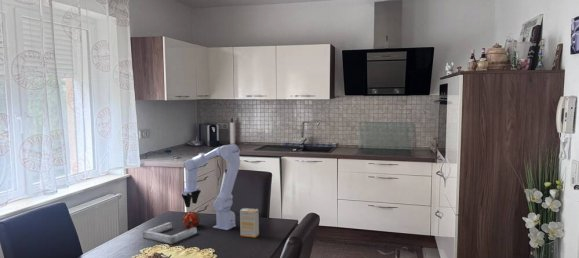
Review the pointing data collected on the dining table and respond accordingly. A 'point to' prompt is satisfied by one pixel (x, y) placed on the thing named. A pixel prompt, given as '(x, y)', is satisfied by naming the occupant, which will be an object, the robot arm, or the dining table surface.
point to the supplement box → (249, 222)
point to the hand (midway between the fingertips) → (191, 205)
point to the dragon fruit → (191, 219)
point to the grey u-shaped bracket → (156, 235)
